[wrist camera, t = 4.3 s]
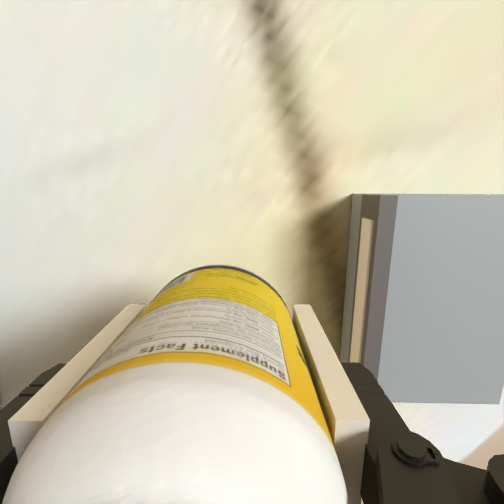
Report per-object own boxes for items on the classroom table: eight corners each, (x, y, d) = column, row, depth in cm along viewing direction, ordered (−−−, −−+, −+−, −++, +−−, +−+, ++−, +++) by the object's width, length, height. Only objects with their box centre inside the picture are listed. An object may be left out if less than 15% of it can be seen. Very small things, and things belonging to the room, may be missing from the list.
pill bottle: (238, 410, 15) (203, 1210, 3) (125, 343, 14) (-480, 1105, 2) (319, 310, 13) (706, 989, 2) (200, 230, 13) (-250, 633, 1)
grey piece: (335, 384, 25) (355, 432, 20) (350, 193, 22) (377, 195, 17) (480, 387, 25) (534, 436, 20) (517, 194, 21) (595, 196, 16)
